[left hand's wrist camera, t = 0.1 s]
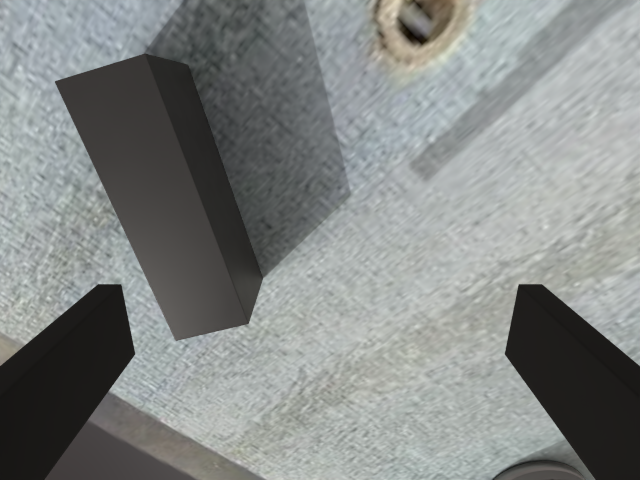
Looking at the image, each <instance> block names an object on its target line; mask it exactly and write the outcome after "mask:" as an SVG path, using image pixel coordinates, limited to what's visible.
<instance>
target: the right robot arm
mask: <svg viewBox="0 0 640 480" xmlns="http://www.w3.org/2000/svg"><path fill="white" fill-rule="evenodd" d="M494 480H585V478H584V477H583V476H582V474H581V473H580V472H579V471H577V470H576V469H574V468H573V467H571V466H569V465H566V464H563V463H559V462H553V461H536V462H529V463H525V464H521V465H518V466H515V467H513V468H511V469H509V470H507V471H505V472H503V473H502V474H500V475H499V476H497V477H496V478H495V479H494Z"/></svg>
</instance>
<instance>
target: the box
mask: <svg viewBox="0 0 640 480" xmlns="http://www.w3.org/2000/svg"><path fill="white" fill-rule="evenodd" d="M55 83H56V85H57V88H58V90H59V92H60V94H61V96H62V98H63V100H64V103H65V105H66V107H67V109H68V111H69V113H70V115H71V118H72V120H73V122H74V124H75V126H76V128H77V130H78V133H79V135H80V137H81V139H82V141H83V143H84V145H85V148H86V150H87V152H88V154H89V156H90V158H91V160H92V163H93V165H94V167H95V169H96V171H97V173H98V175H99V178H100V180H101V182H102V184H103V186H104V188H105V190H106V193H107V195H108V197H109V199H110V201H111V203H112V205H113V208H114V210H115V212H116V214H117V216H118V218H119V220H120V223H121V225H122V227H123V229H124V231H125V233H126V235H127V238H128V240H129V242H130V244H131V246H132V248H133V250H134V253H135V255H136V257H137V259H138V261H139V263H140V265H141V268H142V270H143V272H144V274H145V276H146V278H147V280H148V283H149V285H150V287H151V289H152V291H153V293H154V295H155V298H156V300H157V302H158V304H159V306H160V308H161V310H162V313H163V315H164V317H165V319H166V321H167V323H168V325H169V328H170V330H171V332H172V334H173V336H174V338H175V340H176V341H177V340H181V339H186V338H190V337H194V336H198V335H203V334H207V333H211V332H216V331H220V330H224V329H228V328H233V327H237V326H241V325H246V324H249V321H250V318H251V315H252V312H253V308H254V305H255V302H256V299H257V296H258V293H259V290H260V286H261V283H262V280H263V277H262V275H261V272H260V269H259V266H258V263H257V260H256V258H255V255H254V252H253V249H252V246H251V243H250V240H249V238H248V235H247V232H246V229H245V226H244V223H243V220H242V218H241V215H240V212H239V209H238V206H237V203H236V201H235V198H234V195H233V192H232V189H231V186H230V183H229V181H228V178H227V175H226V172H225V169H224V166H223V164H222V161H221V158H220V155H219V152H218V149H217V146H216V144H215V141H214V138H213V135H212V132H211V129H210V126H209V124H208V121H207V118H206V115H205V112H204V109H203V107H202V104H201V101H200V98H199V95H198V92H197V89H196V87H195V84H194V81H193V78H192V75H191V72H190V69H189V67H188V65H187V64H183V63H179V62H175V61H171V60H167V59H164V58H160V57H156V56H152V55H148V54H142V55H139V56H136V57H133V58H129V59H126V60H123V61H120V62H116V63H113V64H110V65H107V66H103V67H100V68H97V69H94V70H90V71H87V72H84V73H81V74H77V75H74V76H71V77H68V78H64V79H61V80H58V81H55Z"/></svg>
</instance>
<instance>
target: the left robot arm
mask: <svg viewBox="0 0 640 480" xmlns="http://www.w3.org/2000/svg"><path fill="white" fill-rule="evenodd" d="M134 355H135V351H134V346H133V341H132V336H131V331H130V326H129V321H128V316H127V311H126V306H125V301H124V296H123V291H122V286H121V284H98V285H97V286H96V287H94V288H93V289H92V290H91V291H90V292H88V293H87V294H86V295H85V296H84V297H82V298H81V299H80V300H79V301H78V302H76V303H75V304H74V305H73V306H72V307H70V308H69V309H68V310H67V311H66V312H64V313H63V314H62V315H61V316H60V317H58V318H57V319H56V320H55V321H54V322H52V323H51V324H50V325H49V326H48V327H47V328H45V329H44V330H43V331H42V332H41V333H39V334H38V335H37V336H36V337H35V338H33V339H32V340H31V341H30V342H29V343H27V344H26V345H25V346H24V347H23V348H21V349H20V350H19V351H18V352H17V353H15V354H14V355H13V356H12V357H11V358H9V359H8V360H7V361H6V362H5V363H3V364H2V365H1V366H0V480H44V479H45V478H46V477H47V475H48V474H49V472H50V471H51V470H52V468H53V467H54V466H55V464H56V463H57V461H58V460H59V459H60V457H61V456H62V454H63V453H64V452H65V450H66V449H67V448H68V446H69V445H70V443H71V442H72V441H73V439H74V438H75V437H76V435H77V434H78V432H79V431H80V430H81V428H82V427H83V426H84V424H85V423H86V421H87V420H88V419H89V417H90V416H91V414H92V413H93V412H94V410H95V409H96V408H97V406H98V405H99V403H100V402H101V401H102V399H103V398H104V397H105V395H106V394H107V392H108V391H109V390H110V388H111V387H112V385H113V384H114V383H115V381H116V380H117V379H118V377H119V376H120V374H121V373H122V372H123V370H124V369H125V368H126V366H127V365H128V363H129V362H130V361H131V359H132V358H133V356H134ZM505 355H506V356H507V358H508V359H509V361H510V362H511V363H512V365H513V366H514V368H515V369H516V370H517V372H518V373H519V374H520V376H521V377H522V379H523V380H524V381H525V383H526V384H527V385H528V387H529V388H530V390H531V391H532V392H533V394H534V395H535V397H536V398H537V399H538V401H539V402H540V403H541V405H542V406H543V408H544V409H545V410H546V412H547V413H548V414H549V416H550V417H551V419H552V420H553V421H554V423H555V424H556V426H557V427H558V428H559V430H560V431H561V432H562V434H563V435H564V437H565V438H566V439H567V441H568V442H569V443H570V445H571V446H572V448H573V449H574V450H575V452H576V453H577V455H578V456H579V457H580V459H581V460H582V461H583V463H584V464H585V466H586V467H587V468H588V470H589V471H590V472H591V474H592V475H593V477H594V478H595V479H596V480H640V366H639V365H638V364H637V363H635V362H634V361H633V360H632V359H631V358H629V357H628V356H627V355H626V354H625V353H623V352H622V351H621V350H620V349H619V348H617V347H616V346H615V345H614V344H613V343H611V342H610V341H609V340H608V339H607V338H605V337H604V336H603V335H602V334H601V333H599V332H598V331H597V330H596V329H595V328H593V327H592V326H591V325H590V324H589V323H588V322H586V321H585V320H584V319H583V318H582V317H580V316H579V315H578V314H577V313H576V312H574V311H573V310H572V309H571V308H570V307H568V306H567V305H566V304H565V303H564V302H562V301H561V300H560V299H559V298H558V297H556V296H555V295H554V294H553V293H552V292H550V291H549V290H548V289H547V288H546V287H544V286H543V285H542V284H519V286H518V291H517V296H516V301H515V306H514V311H513V316H512V321H511V326H510V331H509V336H508V341H507V346H506V351H505Z"/></svg>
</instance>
